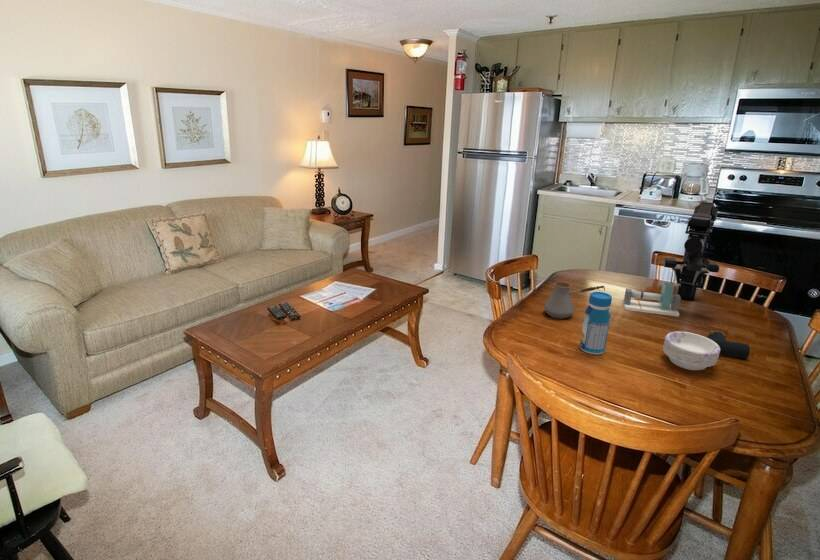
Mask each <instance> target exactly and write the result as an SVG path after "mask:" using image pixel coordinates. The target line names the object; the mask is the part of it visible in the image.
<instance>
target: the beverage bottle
mask: <svg viewBox="0 0 820 560" xmlns="http://www.w3.org/2000/svg"><path fill="white" fill-rule="evenodd" d="M588 298H589V300H588V304H589V305H588V306H587V307H586V309H585V310H584V316H583V318H582V329H581V336H580V341H579V349H581V351H583V352H585V353H587V354H590V355H602V354H604V353H605V351H606V347H607V346H606V345H607V341H608V335H609V331H610V330H609V329H610V327H611V318H612V312H611V309H610V307H611V305H612V302H613V301H612V299H613V297H612V295H611V294H609V293H607V292H605V291H591V292H590V294H589V297H588Z"/></svg>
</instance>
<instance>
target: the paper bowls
mask: <svg viewBox="0 0 820 560" xmlns="http://www.w3.org/2000/svg"><path fill="white" fill-rule="evenodd" d="M706 337H707V336H703V335H701V334H697V333H693V332H689V331H671V332H669V333H667V334H666V335H665V337H664V342H663V346H662V351H663V353H664V354H665V355H666V356H667V357H668V359H669V360H670V362H671V363H672V364H674V365H675V366H677V367H679V368H681V369H684V370H689V371H702V370H706V368H707V367H708V368H710V367H713V366H715V365H716V364H717V362H718V360H719V356H720V355H719V353H720V347H719V345H718V344H717V343H715V342H714V341H712V340H711V339H709V338H706Z"/></svg>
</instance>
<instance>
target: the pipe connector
mask: <svg viewBox="0 0 820 560" xmlns="http://www.w3.org/2000/svg"><path fill="white" fill-rule="evenodd" d="M705 337H706V338H709V339H711V340H712V341H714V342H715V343H717V344H718V345H719V347H720V353H719V356H726V357H731V358H736V357H737V359H743V360H747V359H748V358H749V355H750V348H751V347H750V344H749V343H742V342H735V341H730V340H727V339H726V334H725V333H724V331H719V330H714V329H709V332H708V334H707V336H705Z"/></svg>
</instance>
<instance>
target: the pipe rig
mask: <svg viewBox="0 0 820 560" xmlns="http://www.w3.org/2000/svg"><path fill="white" fill-rule="evenodd" d="M632 298H635V299H632ZM662 298H663V294H661V293H656V292H648V291H647V292H646V291H639V290H632V288H625V292H624V298H622V304H623V308H624V310H626V311H633V312H639V313H640V312H641V313H648V314H653V315H654V314H656V315H664V316H671V317H678V318H679V317H680V312H679V309H680V305H681V301H682V299H681V297H680V295H678V294H676V293H673V295H672V299H671V304H670V308H666V307H661V305H660V303H659V301H662ZM638 299H640V300H638ZM641 299H642V300H641ZM645 300H652V301H645ZM654 301H658V302H654Z"/></svg>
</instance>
